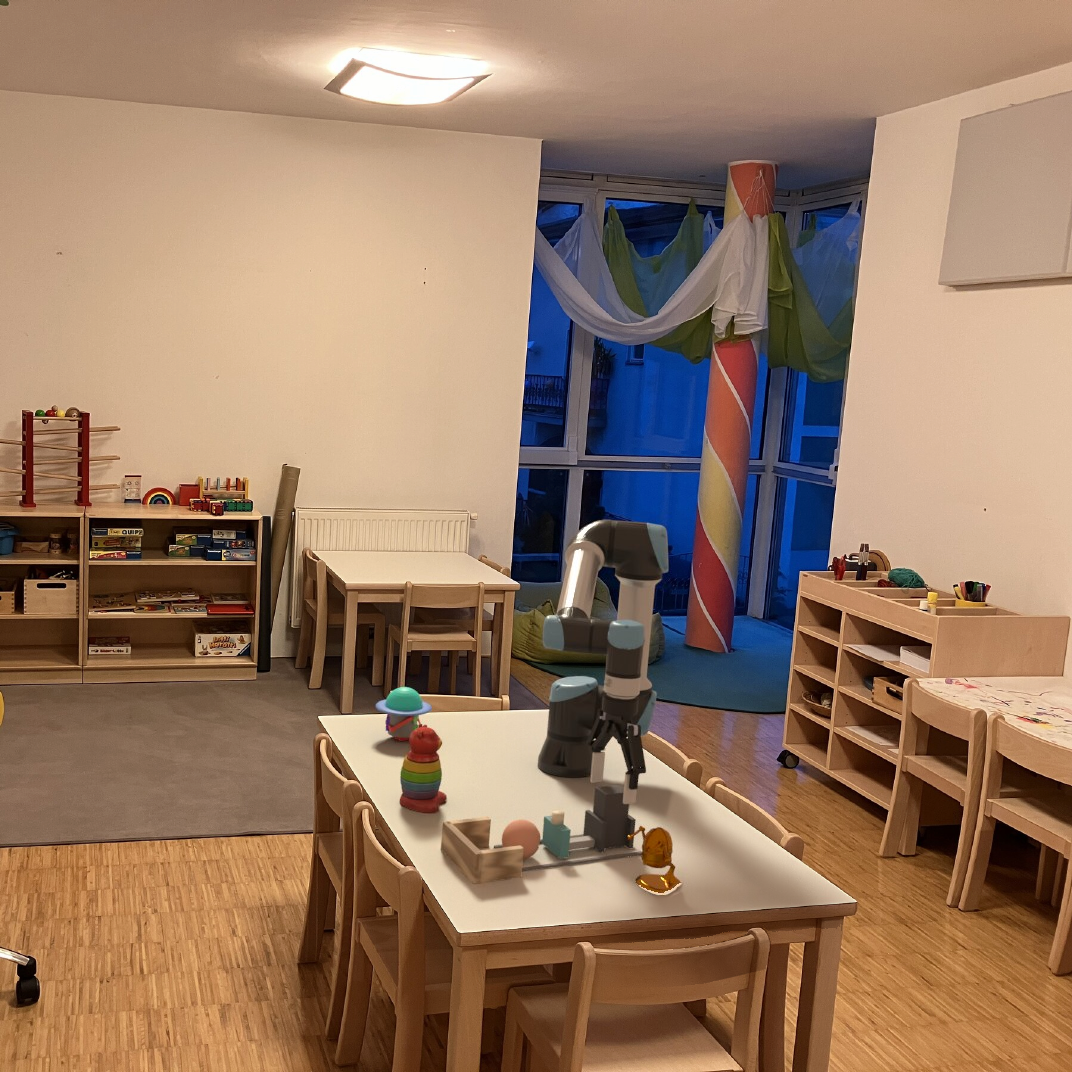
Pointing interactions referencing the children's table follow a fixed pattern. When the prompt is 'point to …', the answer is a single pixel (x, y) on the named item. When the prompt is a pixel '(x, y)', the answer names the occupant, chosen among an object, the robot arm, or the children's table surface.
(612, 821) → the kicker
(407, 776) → the stacking bear
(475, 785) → the children's table surface
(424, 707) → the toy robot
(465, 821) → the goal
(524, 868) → the track
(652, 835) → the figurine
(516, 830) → the toy ball
